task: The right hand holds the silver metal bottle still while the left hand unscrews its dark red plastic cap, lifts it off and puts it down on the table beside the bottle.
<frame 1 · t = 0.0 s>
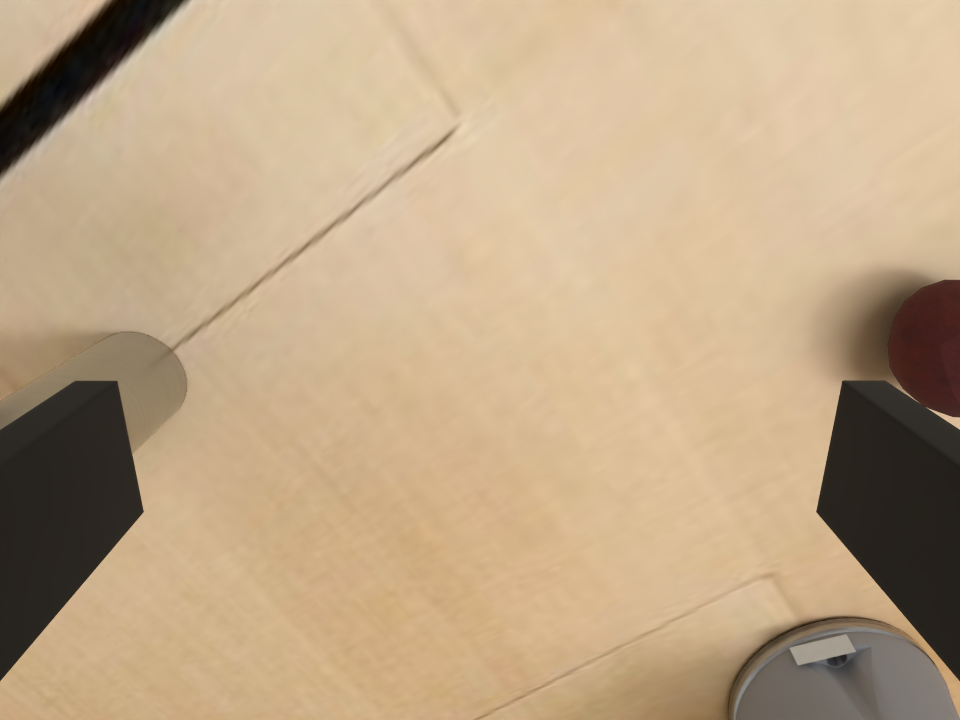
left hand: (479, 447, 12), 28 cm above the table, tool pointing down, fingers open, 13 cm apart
bottle: (137, 378, 42), on the table
dark red round piece: (921, 326, 41), on the table
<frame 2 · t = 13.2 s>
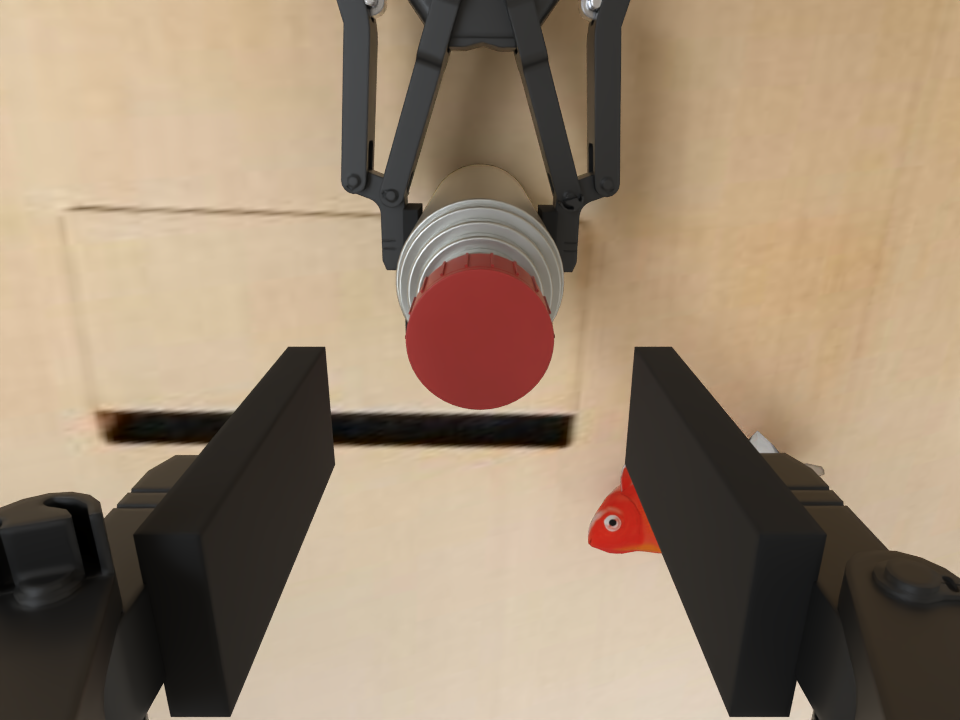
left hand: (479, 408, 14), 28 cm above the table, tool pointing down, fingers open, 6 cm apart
right hand: (478, 328, 36), fingers closed on bottle, 6 cm apart
cap: (479, 338, 18), point 24 cm above the table, screwed on, not yet turned
fish: (688, 467, 47), on the table
bottle: (479, 216, 41), on the table, touching right hand
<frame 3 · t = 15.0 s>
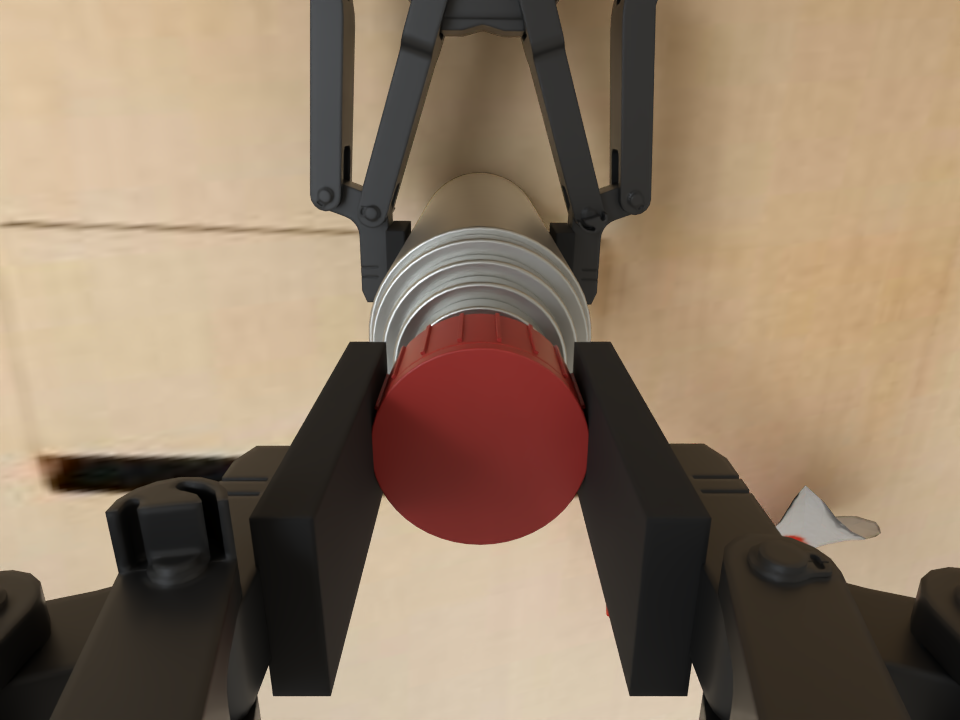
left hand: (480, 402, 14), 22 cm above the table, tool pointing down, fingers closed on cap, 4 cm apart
right hand: (478, 370, 30), fingers closed on bottle, 6 cm apart
cap: (480, 444, 12), point 24 cm above the table, screwed on, not yet turned, touching left hand
fish: (718, 518, 41), on the table
bottle: (480, 233, 35), on the table, touching right hand
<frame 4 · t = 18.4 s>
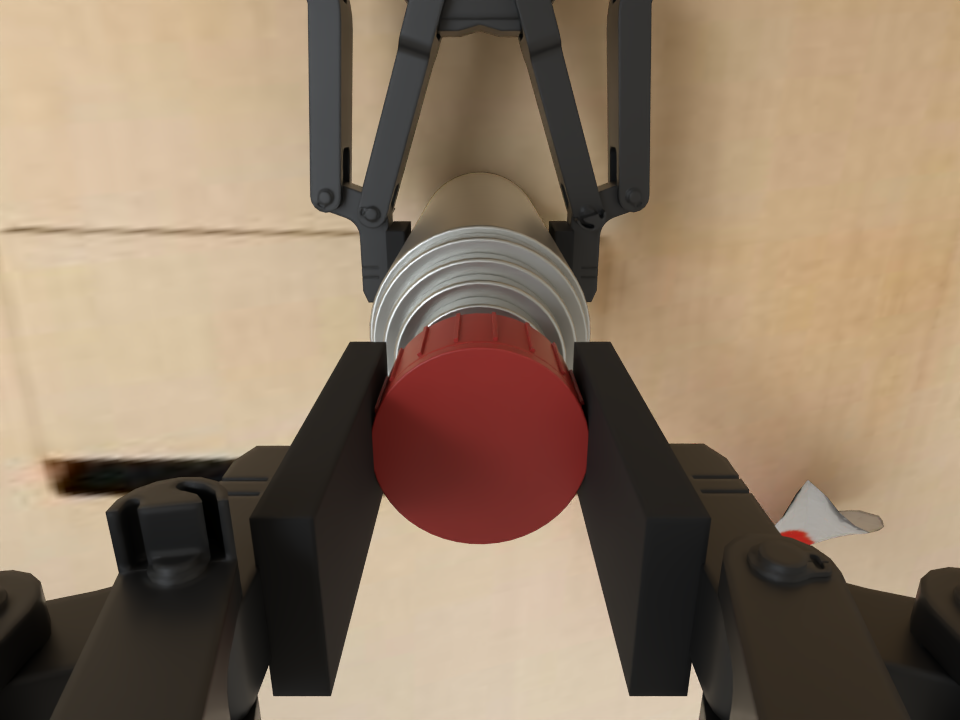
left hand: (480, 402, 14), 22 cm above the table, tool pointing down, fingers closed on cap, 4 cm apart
right hand: (480, 369, 31), fingers closed on bottle, 6 cm apart
cap: (480, 444, 13), point 24 cm above the table, turned 121° so far, risen 0.1 cm, still on its thread, touching left hand
fish: (722, 514, 41), on the table
bottle: (479, 233, 35), on the table, touching right hand
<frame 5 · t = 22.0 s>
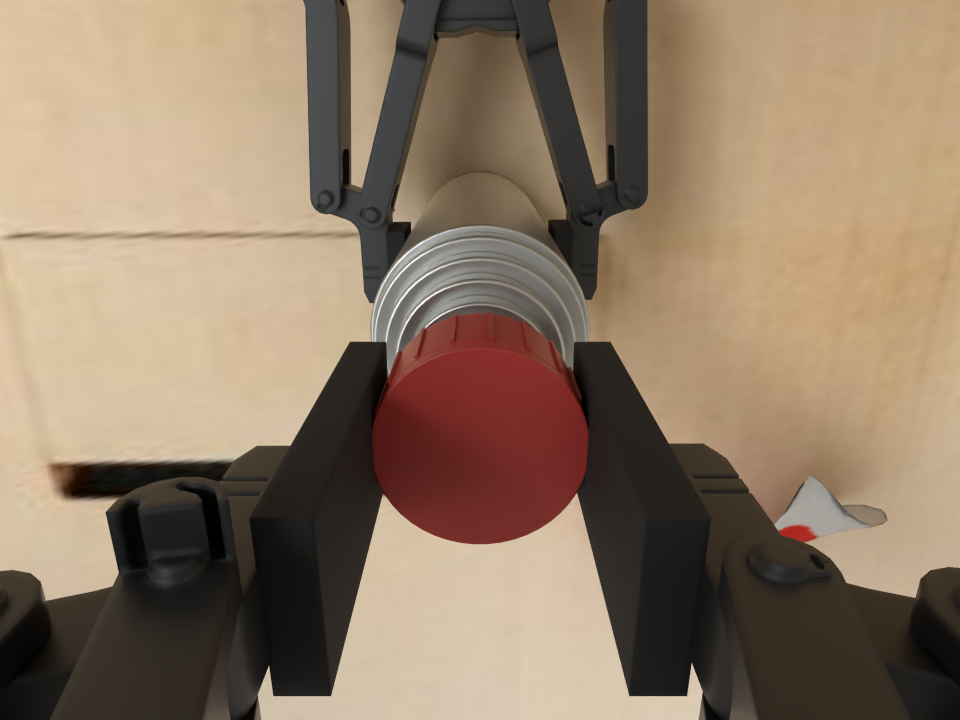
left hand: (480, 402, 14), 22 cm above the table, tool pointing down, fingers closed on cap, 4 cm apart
right hand: (481, 368, 31), fingers closed on bottle, 6 cm apart
cap: (480, 444, 12), point 24 cm above the table, turned 242° so far, risen 0.3 cm, still on its thread, touching left hand
fish: (725, 510, 41), on the table
bottle: (479, 232, 35), on the table, touching right hand
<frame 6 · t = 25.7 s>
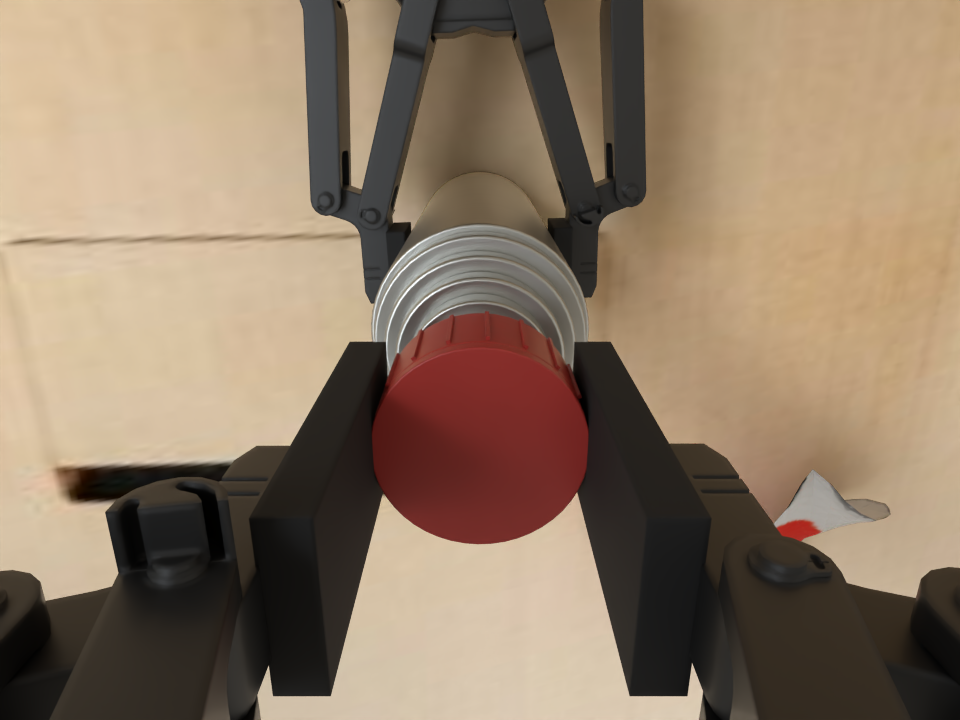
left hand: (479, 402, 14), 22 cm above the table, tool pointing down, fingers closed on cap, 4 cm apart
right hand: (483, 366, 31), fingers closed on bottle, 6 cm apart
cap: (480, 444, 13), point 24 cm above the table, turned 364° so far, risen 0.4 cm, still on its thread, touching left hand
fish: (728, 506, 41), on the table
bottle: (479, 232, 35), on the table, touching right hand
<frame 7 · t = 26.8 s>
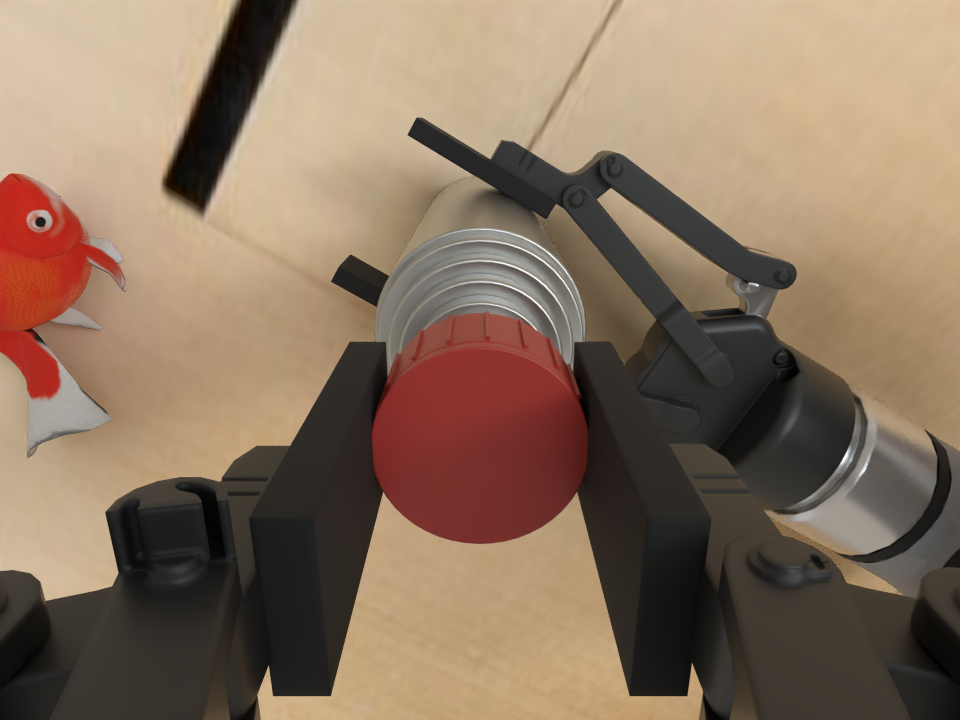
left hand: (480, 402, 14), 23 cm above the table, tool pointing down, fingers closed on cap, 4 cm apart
right hand: (377, 199, 29), fingers closed on bottle, 6 cm apart
cap: (480, 443, 13), point 25 cm above the table, off its thread, touching left hand
fish: (80, 308, 37), on the table
bottle: (480, 235, 36), on the table, touching right hand
when the left hand's fingers open (2 cm above the table, at t = 32.3 s): cap drops 2 cm, point 2 cm above the table.
when the right hand's fingers open (7 cm above the table, at t = 33.5 s): bottle stays where it is, on the table.
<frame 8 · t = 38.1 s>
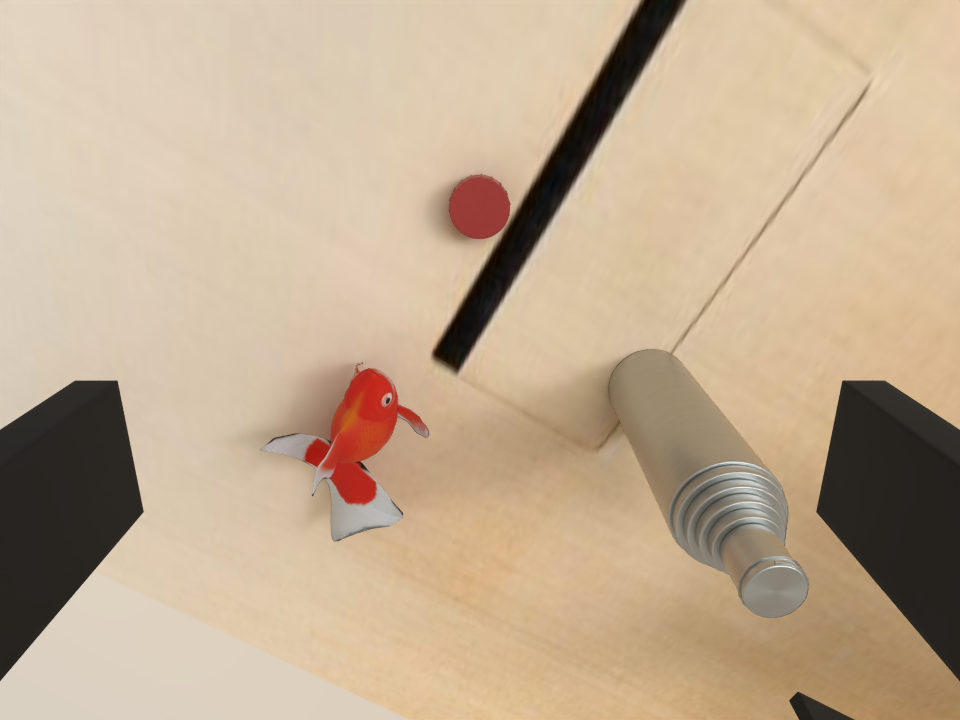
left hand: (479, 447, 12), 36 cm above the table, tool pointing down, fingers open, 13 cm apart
cap: (479, 208, 45), point 2 cm above the table, off its thread
fish: (363, 434, 53), on the table
bottle: (648, 386, 51), on the table
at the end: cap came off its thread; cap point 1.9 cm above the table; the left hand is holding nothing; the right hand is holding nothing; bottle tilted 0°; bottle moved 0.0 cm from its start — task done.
